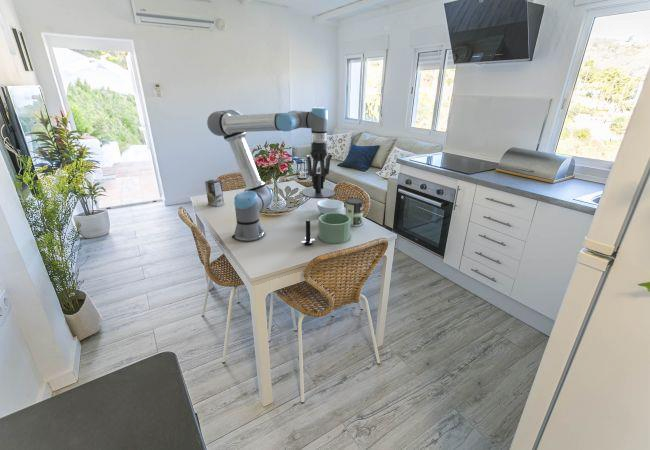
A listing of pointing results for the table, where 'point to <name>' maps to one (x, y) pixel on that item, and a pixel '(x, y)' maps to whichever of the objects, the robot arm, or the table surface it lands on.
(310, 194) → the lid
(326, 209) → the cereal bowl
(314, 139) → the robot arm
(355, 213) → the coffee can
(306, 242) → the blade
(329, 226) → the bowl chamber
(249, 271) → the table surface
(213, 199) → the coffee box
